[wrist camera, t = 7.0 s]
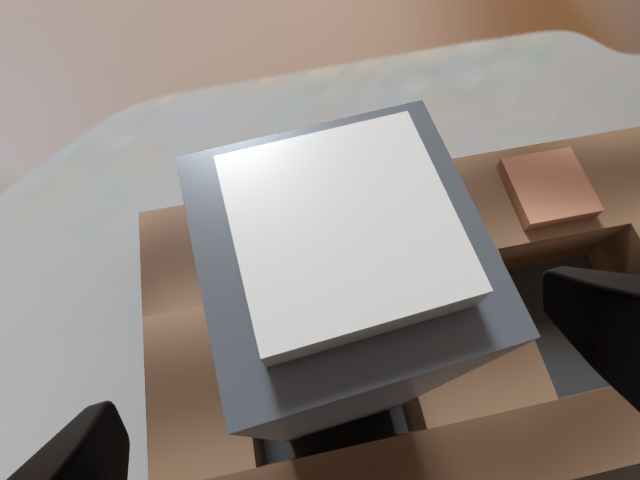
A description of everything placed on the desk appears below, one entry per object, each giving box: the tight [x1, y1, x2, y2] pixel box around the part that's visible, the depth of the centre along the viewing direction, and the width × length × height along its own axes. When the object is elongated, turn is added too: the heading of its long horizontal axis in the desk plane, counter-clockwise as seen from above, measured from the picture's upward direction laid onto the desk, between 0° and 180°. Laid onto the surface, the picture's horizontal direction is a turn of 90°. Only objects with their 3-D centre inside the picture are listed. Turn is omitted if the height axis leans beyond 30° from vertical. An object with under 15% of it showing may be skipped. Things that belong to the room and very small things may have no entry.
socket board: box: [139, 127, 640, 480], centre depth 17 cm, size 12×22×4 cm, turn 102°
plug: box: [175, 100, 541, 442], centre depth 12 cm, size 4×4×14 cm
